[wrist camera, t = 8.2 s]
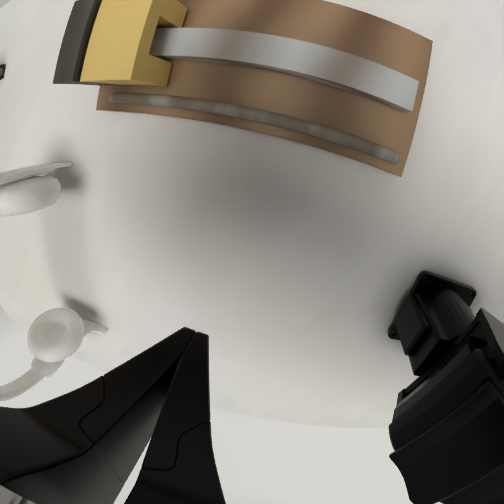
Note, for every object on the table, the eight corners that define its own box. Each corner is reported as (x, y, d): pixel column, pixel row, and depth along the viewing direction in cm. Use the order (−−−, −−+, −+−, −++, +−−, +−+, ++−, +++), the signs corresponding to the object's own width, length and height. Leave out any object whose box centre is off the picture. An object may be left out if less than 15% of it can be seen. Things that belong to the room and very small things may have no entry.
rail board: (427, 44, 12) (467, 20, 6) (396, 174, 16) (432, 195, 11) (131, -1, 13) (84, -22, 8) (103, 109, 18) (48, 113, 12)
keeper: (187, 8, 12) (157, -15, 9) (166, 86, 15) (130, 79, 11) (138, 12, 13) (103, -4, 9) (119, 84, 15) (80, 81, 12)
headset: (42, 152, 20) (-110, 215, 4) (89, 152, 20) (-105, 231, 4) (67, 315, 29) (-18, 407, 13) (109, 333, 28) (22, 447, 12)
